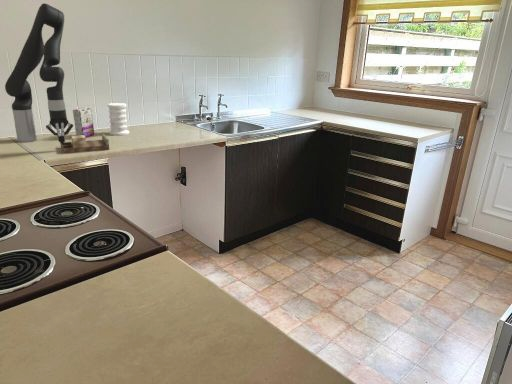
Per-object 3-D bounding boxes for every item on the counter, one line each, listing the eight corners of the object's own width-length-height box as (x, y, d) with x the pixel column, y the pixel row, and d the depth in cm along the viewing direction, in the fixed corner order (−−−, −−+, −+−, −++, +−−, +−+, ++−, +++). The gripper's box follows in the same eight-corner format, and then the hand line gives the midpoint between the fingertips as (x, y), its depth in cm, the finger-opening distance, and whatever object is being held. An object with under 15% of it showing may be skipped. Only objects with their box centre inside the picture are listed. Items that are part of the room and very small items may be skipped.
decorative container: (121, 130, 249) (119, 102, 243) (133, 133, 243) (131, 104, 237) (105, 133, 240) (102, 103, 234) (117, 136, 234) (114, 106, 228)
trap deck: (63, 153, 194) (61, 142, 192) (60, 147, 205) (59, 137, 203) (109, 149, 205) (108, 139, 203) (104, 143, 216) (103, 134, 214)
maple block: (73, 146, 199) (72, 138, 198) (72, 143, 204) (71, 135, 203) (86, 145, 202) (85, 137, 201) (84, 142, 207) (83, 135, 205)
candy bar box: (87, 134, 236) (84, 107, 231) (94, 135, 235) (91, 107, 230) (75, 138, 226) (72, 109, 220) (83, 138, 225) (80, 110, 219)
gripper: (42, 110, 186) (48, 145, 193) (72, 109, 193) (77, 143, 199) (41, 108, 192) (47, 142, 199) (70, 107, 199) (75, 140, 205)
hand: (62, 143), depth 199 cm, fingers closed
